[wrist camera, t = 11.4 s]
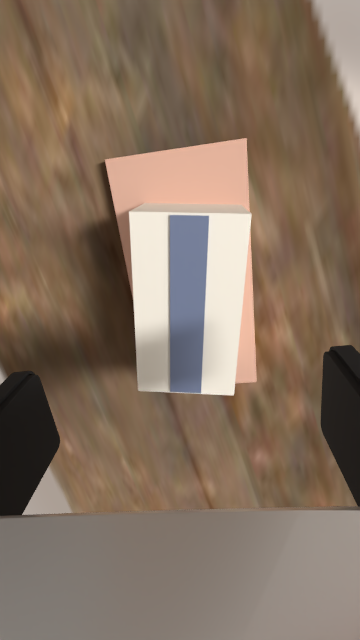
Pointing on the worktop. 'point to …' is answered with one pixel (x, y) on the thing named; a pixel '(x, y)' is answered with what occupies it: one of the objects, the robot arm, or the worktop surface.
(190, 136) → the worktop surface
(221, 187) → the mat
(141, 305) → the card box
